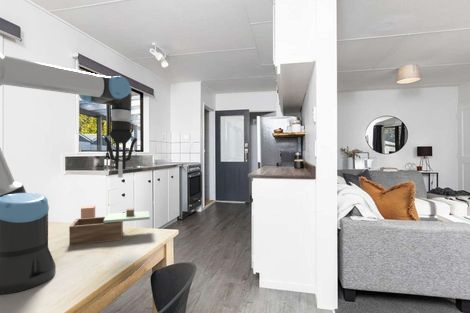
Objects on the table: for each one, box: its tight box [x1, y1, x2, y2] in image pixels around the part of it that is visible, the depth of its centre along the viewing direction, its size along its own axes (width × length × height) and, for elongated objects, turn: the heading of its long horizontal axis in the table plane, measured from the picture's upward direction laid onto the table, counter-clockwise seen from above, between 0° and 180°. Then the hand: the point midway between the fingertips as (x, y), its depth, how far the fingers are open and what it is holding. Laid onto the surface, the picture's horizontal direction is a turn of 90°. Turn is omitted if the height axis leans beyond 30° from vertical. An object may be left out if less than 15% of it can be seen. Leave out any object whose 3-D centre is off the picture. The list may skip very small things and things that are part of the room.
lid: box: [104, 207, 151, 223], centre depth 109 cm, size 11×17×4 cm, turn 111°
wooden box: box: [68, 216, 124, 246], centre depth 105 cm, size 12×18×7 cm, turn 111°
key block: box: [80, 205, 96, 219], centre depth 117 cm, size 5×5×10 cm
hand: (120, 177), depth 107 cm, fingers closed
